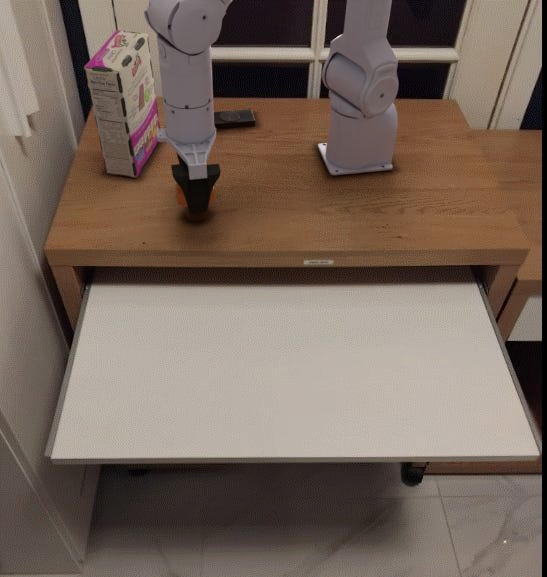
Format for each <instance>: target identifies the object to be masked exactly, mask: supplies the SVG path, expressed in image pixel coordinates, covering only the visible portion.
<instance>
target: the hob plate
mask: <svg viewBox="0 0 547 577" xmlns="http://www.w3.org/2000/svg"><path fill="white" fill-rule="evenodd" d="M214 126H215V128H216V130H220V129H232V128H245V127H255V126H256V119H255V115H254V113H253V110H252V109H251V108H249V109H248V108H247V109H237V110H235V109H234V110H224V111H222V110H221V111H214Z"/></svg>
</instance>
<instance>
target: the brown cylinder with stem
mask: <svg viewBox="0 0 547 577" xmlns="http://www.w3.org/2000/svg"><path fill="white" fill-rule="evenodd" d="M185 215H186V216H185V217H186V218H187V220H189V221H191V222H202V221H205V220H206V219H207V217H208V211H207V212H205V213H196V214H191V213H190V211H189V209H188V208H187V207H185Z"/></svg>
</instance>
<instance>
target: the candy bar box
mask: <svg viewBox="0 0 547 577" xmlns="http://www.w3.org/2000/svg"><path fill="white" fill-rule="evenodd" d="M83 69H84V74H85V78H86V82H87V87H88V92H89V97H90V102H91V106H92V112H93V115H94V120H95V124H96V131H97V134H98V138H99V143H100V149H101V153H102V158H103V163H104V169H105V173H106V174H108V175H112V176H120V177H127V178H133V179H134V178H135V179H136V178H138V177H139V175H140V173H141V171H142V170H143V169H144V167H145V165H146V163H147V162H148V160H149V159H150V156H151V155H152V153H153V152H154V150H155V148H156V147H157V145H158V143H159V142H158V140H157V133H156V131H157V129H161V125H160V118H159V112H158V111H159V109H158V103H157V94H156V88H155V80H154V79H155V78H154V71H153V65H152V55H151V49H150V40H149V33H145V32H136V31H126V30H115V31H114V32H113V33H112V35H111V36H110V37H109V38H108V39H107V40H106V41H105V42H104V44H103V45H102V46H100V49H99V50H97V52H96V53H95V54H94V55H93V56H92V57H91V58H90V60H89V61H88V62H87V63H86V64H84V66H83Z"/></svg>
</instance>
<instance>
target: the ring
mask: <svg viewBox="0 0 547 577" xmlns="http://www.w3.org/2000/svg"><path fill="white" fill-rule="evenodd" d="M215 194H216V193H215V187H213V189H212V192H211V196H210V201H209V205H210V204H211V203H213V202H214V201H215V200H216V195H215ZM175 195H176V201H177V205H180V206H183V207H185V208H186V207H187V208H188V206H187V203H186V199H185V196H184V193H183V191H182V189H181V187H180V186H179V185H178V183H177V182H176V184H175Z"/></svg>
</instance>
